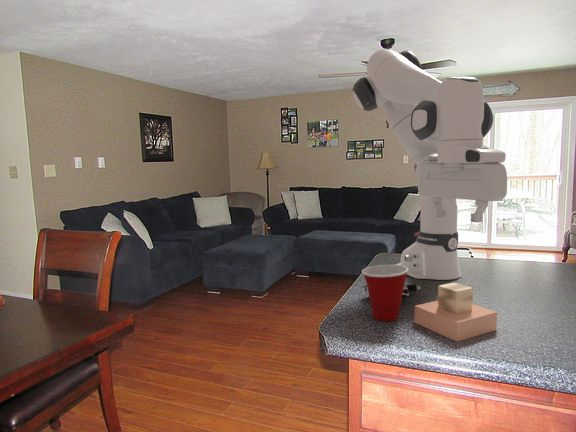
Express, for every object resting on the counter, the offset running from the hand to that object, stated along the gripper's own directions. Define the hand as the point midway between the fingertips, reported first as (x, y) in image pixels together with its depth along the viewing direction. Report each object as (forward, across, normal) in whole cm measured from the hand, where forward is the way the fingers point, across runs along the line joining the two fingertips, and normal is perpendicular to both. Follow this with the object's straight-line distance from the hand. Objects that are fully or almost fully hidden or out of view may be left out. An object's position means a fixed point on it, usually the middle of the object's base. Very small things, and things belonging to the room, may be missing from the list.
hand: (457, 219), depth 89 cm
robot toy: (+24, -23, +2) cm, 34 cm away
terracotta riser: (+24, 0, 0) cm, 24 cm away
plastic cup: (+24, -12, -10) cm, 29 cm away
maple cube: (+20, 0, 0) cm, 20 cm away
